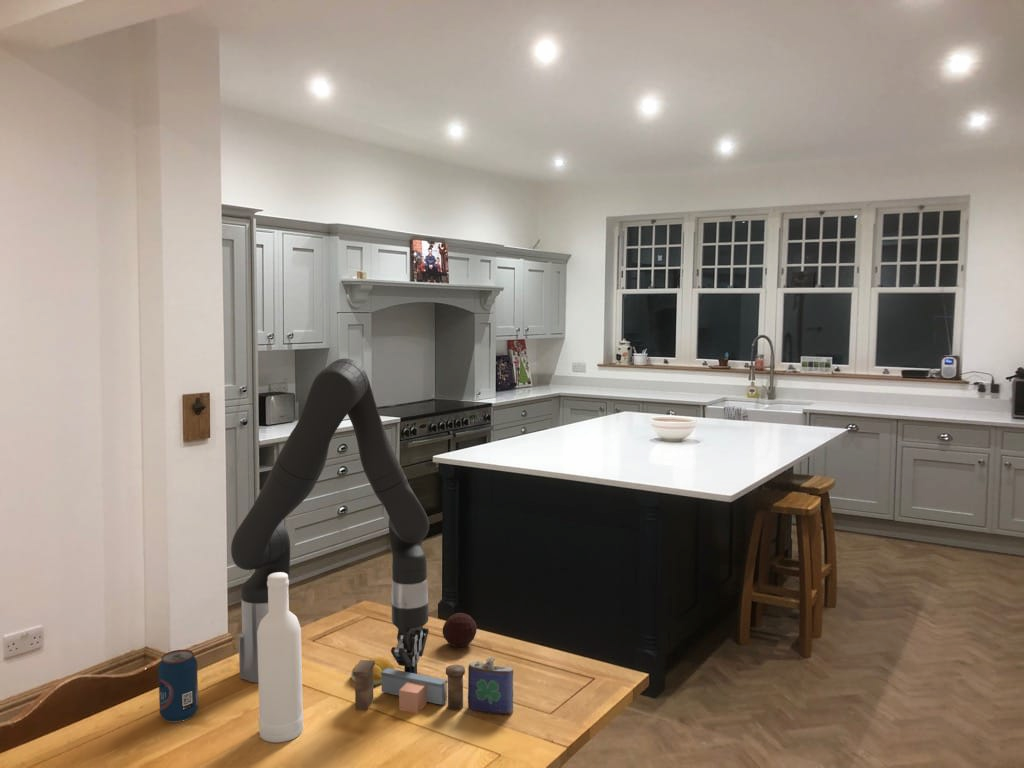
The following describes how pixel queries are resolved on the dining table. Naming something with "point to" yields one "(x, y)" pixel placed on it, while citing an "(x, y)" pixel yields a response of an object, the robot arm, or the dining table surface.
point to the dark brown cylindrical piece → (455, 686)
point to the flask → (490, 688)
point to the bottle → (279, 666)
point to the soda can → (178, 685)
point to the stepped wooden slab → (363, 684)
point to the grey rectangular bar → (398, 679)
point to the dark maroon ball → (459, 630)
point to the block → (412, 697)
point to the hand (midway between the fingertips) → (411, 681)
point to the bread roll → (377, 669)
